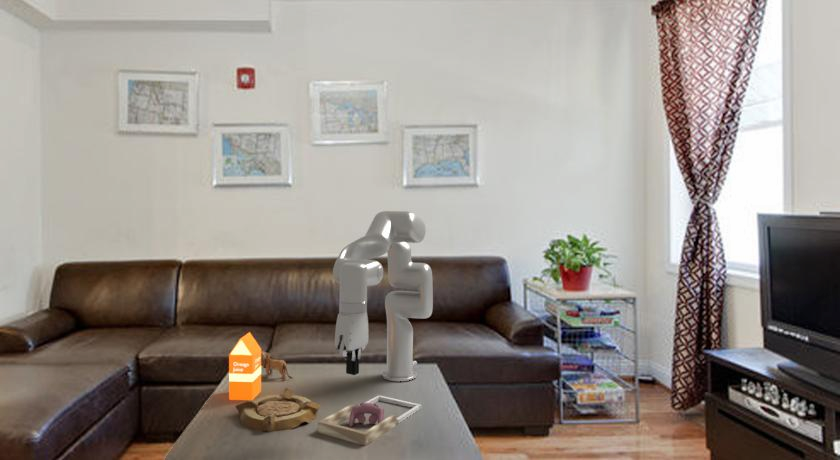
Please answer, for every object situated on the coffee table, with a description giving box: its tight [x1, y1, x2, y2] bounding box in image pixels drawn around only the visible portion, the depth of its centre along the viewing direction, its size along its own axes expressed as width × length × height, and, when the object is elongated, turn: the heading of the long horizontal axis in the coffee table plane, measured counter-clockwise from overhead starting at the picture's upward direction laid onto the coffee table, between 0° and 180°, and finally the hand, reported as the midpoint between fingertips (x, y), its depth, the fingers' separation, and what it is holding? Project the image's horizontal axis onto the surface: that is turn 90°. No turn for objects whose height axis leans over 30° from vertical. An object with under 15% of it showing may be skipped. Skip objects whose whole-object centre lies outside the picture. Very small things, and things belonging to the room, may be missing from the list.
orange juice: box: [228, 331, 262, 401], centre depth 178 cm, size 8×9×20 cm
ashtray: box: [235, 387, 321, 433], centre depth 162 cm, size 24×24×5 cm
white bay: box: [364, 394, 422, 424], centre depth 167 cm, size 14×16×1 cm
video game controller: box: [348, 402, 385, 428], centre depth 157 cm, size 10×5×7 cm, turn 84°
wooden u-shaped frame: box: [317, 403, 397, 447], centre depth 153 cm, size 15×16×3 cm
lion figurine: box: [261, 350, 293, 382], centre depth 197 cm, size 15×5×9 cm, turn 71°
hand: (352, 373), depth 150 cm, fingers closed
